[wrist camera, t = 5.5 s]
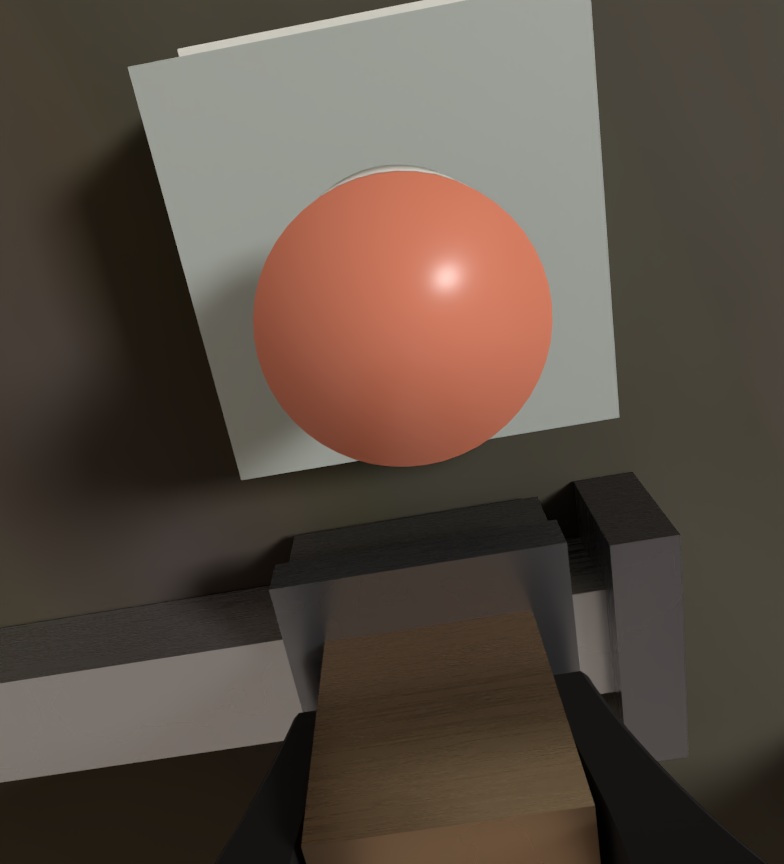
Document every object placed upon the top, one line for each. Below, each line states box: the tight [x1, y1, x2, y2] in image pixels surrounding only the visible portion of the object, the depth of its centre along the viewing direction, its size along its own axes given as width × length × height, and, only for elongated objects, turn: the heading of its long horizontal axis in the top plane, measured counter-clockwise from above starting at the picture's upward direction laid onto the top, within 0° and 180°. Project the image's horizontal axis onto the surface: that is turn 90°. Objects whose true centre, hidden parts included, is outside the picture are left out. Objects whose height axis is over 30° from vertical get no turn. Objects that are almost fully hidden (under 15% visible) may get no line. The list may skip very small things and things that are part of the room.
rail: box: [0, 472, 689, 783], centre depth 15 cm, size 18×5×3 cm, turn 100°
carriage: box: [269, 497, 601, 864], centre depth 13 cm, size 5×6×7 cm
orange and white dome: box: [253, 164, 552, 467], centre depth 8 cm, size 3×3×2 cm
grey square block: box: [128, 0, 619, 480], centre depth 12 cm, size 6×6×3 cm
